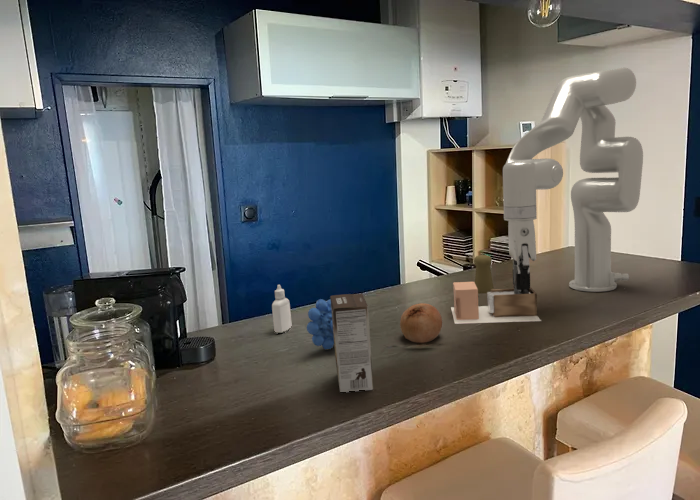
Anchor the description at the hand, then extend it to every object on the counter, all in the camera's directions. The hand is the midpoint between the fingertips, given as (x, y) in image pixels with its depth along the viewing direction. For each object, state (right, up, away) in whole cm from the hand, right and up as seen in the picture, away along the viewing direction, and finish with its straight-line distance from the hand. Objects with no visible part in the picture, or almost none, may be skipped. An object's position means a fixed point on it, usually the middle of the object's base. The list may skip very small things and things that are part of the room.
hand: (521, 286), depth 128 cm
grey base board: (-6, -8, +2) cm, 10 cm away
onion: (-26, -12, -11) cm, 31 cm away
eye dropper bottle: (-59, -12, +4) cm, 61 cm away
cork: (-2, -4, +28) cm, 28 cm away
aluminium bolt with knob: (-3, -6, +1) cm, 7 cm away
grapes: (-46, -14, -12) cm, 50 cm away
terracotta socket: (-12, -7, +3) cm, 15 cm away
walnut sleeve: (-2, -7, +1) cm, 7 cm away
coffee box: (-42, -16, -30) cm, 54 cm away
